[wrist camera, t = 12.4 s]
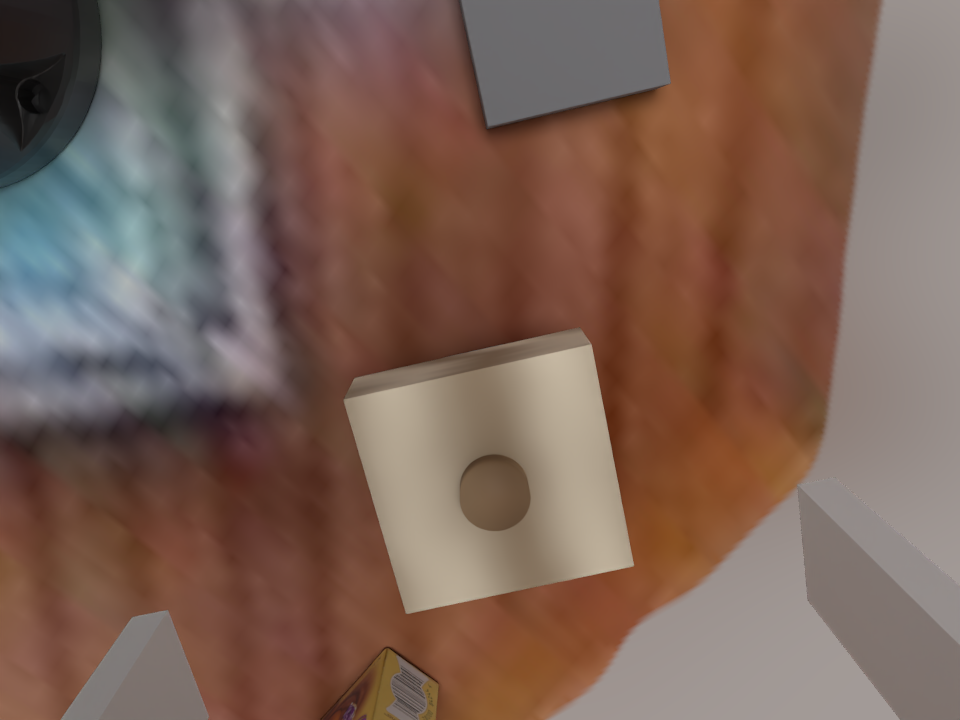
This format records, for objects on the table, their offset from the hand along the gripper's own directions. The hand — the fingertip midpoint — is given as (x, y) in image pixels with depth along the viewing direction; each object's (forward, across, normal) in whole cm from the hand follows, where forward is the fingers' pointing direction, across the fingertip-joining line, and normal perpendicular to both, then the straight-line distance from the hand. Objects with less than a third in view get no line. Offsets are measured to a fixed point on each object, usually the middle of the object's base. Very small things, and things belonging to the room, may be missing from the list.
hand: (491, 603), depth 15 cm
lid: (+17, 0, -4) cm, 18 cm away
